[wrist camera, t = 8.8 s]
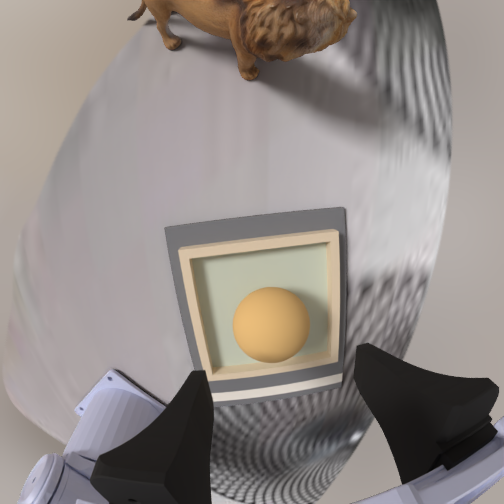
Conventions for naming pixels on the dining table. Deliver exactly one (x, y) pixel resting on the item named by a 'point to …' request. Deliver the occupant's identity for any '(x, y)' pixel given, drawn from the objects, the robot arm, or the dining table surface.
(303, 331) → the ball
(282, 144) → the dining table surface
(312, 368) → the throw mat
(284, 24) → the lion figurine
